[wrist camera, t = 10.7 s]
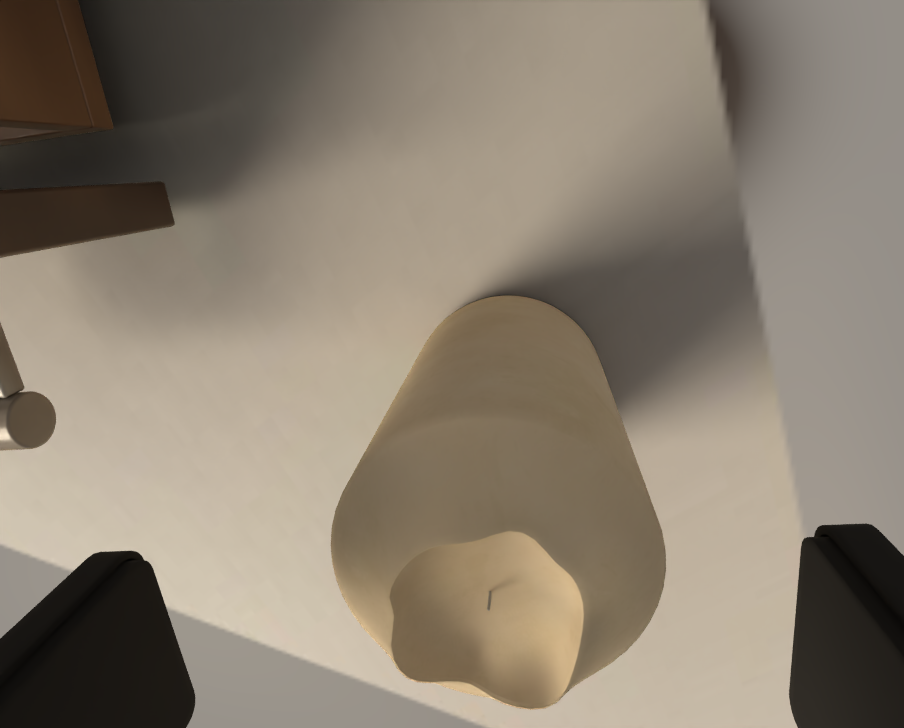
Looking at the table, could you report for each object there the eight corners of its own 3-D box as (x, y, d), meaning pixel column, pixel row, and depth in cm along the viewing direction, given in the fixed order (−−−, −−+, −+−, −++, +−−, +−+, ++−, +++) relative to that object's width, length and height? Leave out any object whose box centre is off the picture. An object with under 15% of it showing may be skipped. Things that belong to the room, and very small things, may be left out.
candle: (635, 410, 17) (763, 702, 8) (481, 491, 19) (437, 814, 10) (538, 255, 16) (555, 384, 7) (382, 354, 18) (223, 569, 8)
